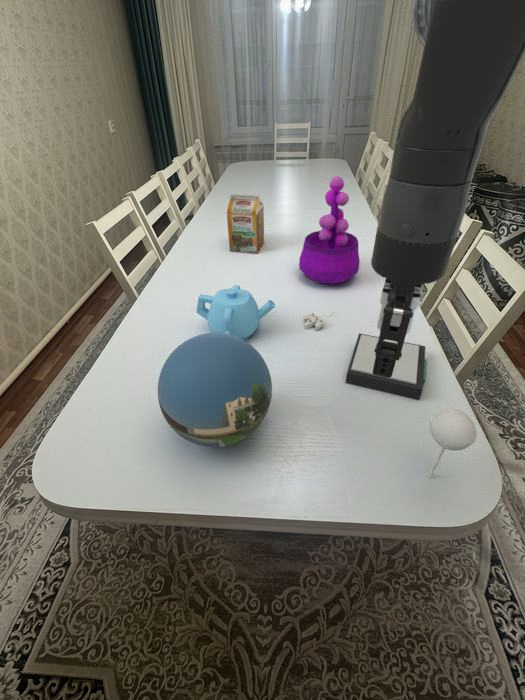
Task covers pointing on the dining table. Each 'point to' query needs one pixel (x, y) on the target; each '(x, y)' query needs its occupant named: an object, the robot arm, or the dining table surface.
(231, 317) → the teapot
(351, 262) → the decorative plant
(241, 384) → the decorative sphere
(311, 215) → the dining table surface
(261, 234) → the milk carton
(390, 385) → the scale
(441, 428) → the lollipop
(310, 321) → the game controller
